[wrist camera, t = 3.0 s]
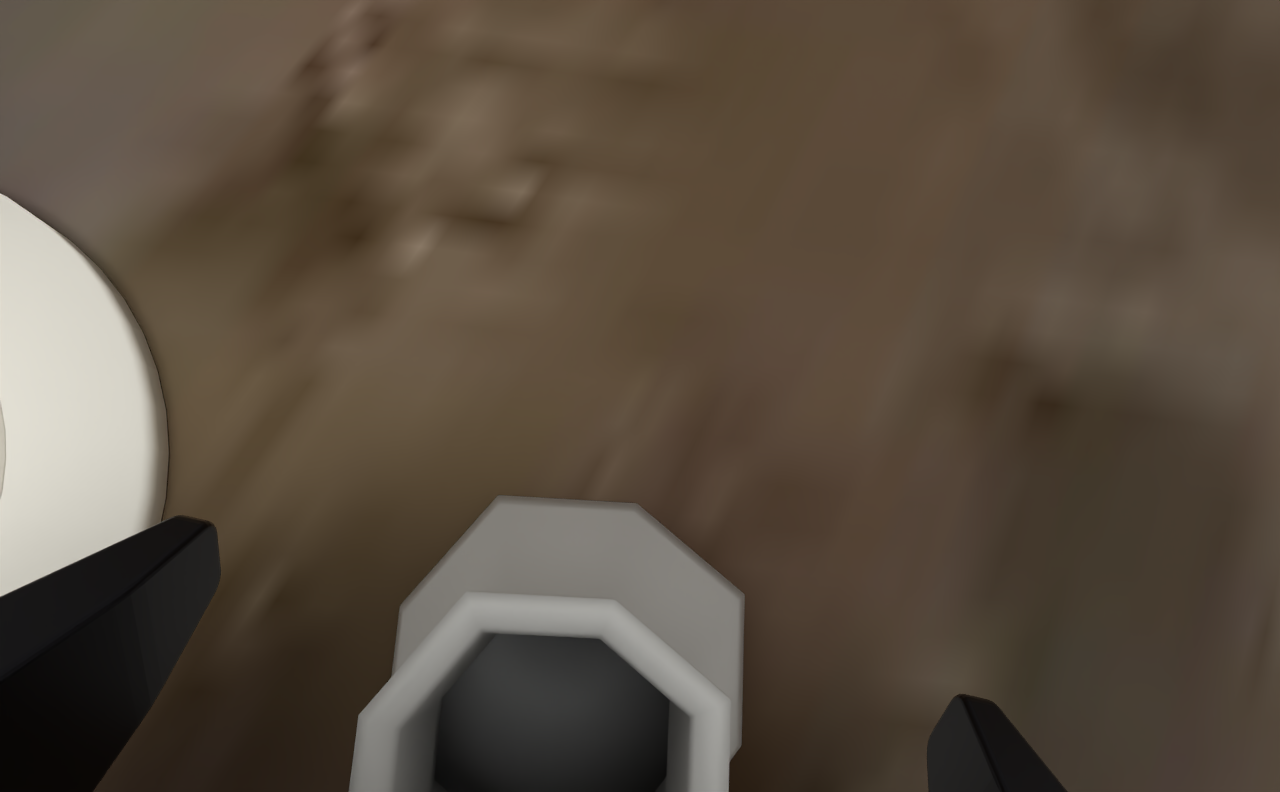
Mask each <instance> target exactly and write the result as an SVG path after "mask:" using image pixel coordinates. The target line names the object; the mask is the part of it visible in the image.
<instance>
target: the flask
mask: <svg viewBox="0 0 1280 792" xmlns="http://www.w3.org/2000/svg"><path fill="white" fill-rule="evenodd" d="M744 602H745V594H744V593H742V592H741V591H740V590H739V589H738V588H736V587H735V586H734V585H733V584H732V583H731V582H729V581H728V580H727V579H726V578H725V577H723V576H722V575H721V574H720V573H719V572H718V571H716V570H715V569H714V568H713V567H712V566H710V565H709V564H708V563H707V562H706V561H705V560H703V559H702V558H701V557H700V556H699V555H697V554H696V553H695V552H694V551H693V550H692V549H690V548H689V547H688V546H687V545H686V544H684V543H683V542H682V541H681V540H680V539H679V538H677V537H676V536H675V535H674V534H673V533H671V532H670V531H669V530H668V529H667V528H666V527H664V526H663V525H662V524H661V523H660V522H658V521H657V520H656V519H655V518H654V517H653V516H651V515H650V514H649V513H648V512H647V511H645V510H644V509H643V508H642V507H641V506H640V505H638V504H637V503H624V502H607V501H590V500H573V499H556V498H539V497H522V496H506V495H498V496H497V497H496V498H495V499H494V500H493V501H492V502H491V504H490V505H489V506H488V507H487V508H486V509H485V510H484V511H483V513H482V514H481V515H480V516H479V517H478V518H477V519H476V520H475V522H474V523H473V524H472V525H471V526H470V527H469V528H468V529H467V531H466V532H465V533H464V534H463V535H462V536H461V537H460V538H459V540H458V541H457V542H456V543H455V544H454V545H453V546H452V547H451V549H450V550H449V551H448V552H447V553H446V554H445V555H444V556H443V558H442V559H441V560H440V561H439V562H438V563H437V564H436V565H435V567H434V568H433V569H432V570H431V571H430V572H429V573H428V574H427V576H426V577H425V578H424V579H423V580H422V581H421V582H420V583H419V585H418V586H417V587H416V588H415V589H414V590H413V591H412V592H411V594H410V595H409V596H408V597H407V598H406V599H405V600H404V601H403V603H402V604H401V605H400V609H399V617H398V625H397V634H396V642H395V650H394V659H393V667H392V675H391V678H390V680H389V681H388V682H387V683H386V684H385V685H384V686H383V688H382V689H381V690H380V691H379V692H378V693H377V695H376V696H375V697H374V698H373V699H372V700H371V701H370V703H369V704H368V705H367V706H366V707H365V708H364V709H363V711H362V712H361V713H360V714H359V715H358V723H357V731H356V739H355V747H354V755H353V762H352V770H351V778H350V786H349V792H729V762H730V761H731V759H732V758H733V756H734V755H735V754H736V752H737V751H738V750H739V748H740V747H741V746H742V701H743V651H744Z"/></svg>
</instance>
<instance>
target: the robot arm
mask: <svg viewBox="0 0 1280 792" xmlns="http://www.w3.org/2000/svg"><path fill="white" fill-rule="evenodd" d="M220 575H221V567H220V557H219V547H218V537H217V530H216V527H215V526H214V524H213V523H211V522H209V521H206V520H202V519H198V518H193V517H189V516H184V515H178V516H174V517H171V518H169V519H167V520H165V521H162V522H160V523H158V524H156V525H154V526H152V527H150V528H147V529H145V530H143V531H141V532H139V533H137V534H134V535H132V536H130V537H128V538H126V539H124V540H121V541H119V542H117V543H115V544H113V545H111V546H108V547H106V548H104V549H102V550H100V551H98V552H96V553H93V554H91V555H89V556H87V557H85V558H83V559H80V560H78V561H76V562H74V563H72V564H70V565H67V566H65V567H63V568H61V569H59V570H57V571H54V572H52V573H50V574H48V575H46V576H44V577H41V578H39V579H37V580H35V581H33V582H31V583H29V584H26V585H24V586H22V587H20V588H18V589H16V590H13V591H11V592H9V593H7V594H5V595H3V596H0V792H93V791H94V789H95V788H96V786H97V785H98V783H99V782H100V781H101V779H102V778H103V776H104V775H105V773H106V772H107V770H108V769H109V768H110V766H111V765H112V763H113V762H114V760H115V759H116V758H117V756H118V755H119V753H120V752H121V750H122V749H123V748H124V746H125V745H126V743H127V742H128V740H129V739H130V738H131V736H132V735H133V733H134V732H135V730H136V729H137V728H138V726H139V725H140V723H141V722H142V720H143V719H144V717H145V716H146V714H147V713H148V711H149V710H150V708H151V707H152V705H153V703H154V701H155V700H156V698H157V696H158V695H159V693H160V691H161V690H162V688H163V686H164V684H165V682H166V681H167V679H168V677H169V675H170V673H171V672H172V670H173V668H174V666H175V664H176V662H177V661H178V659H179V657H180V655H181V653H182V652H183V650H184V648H185V646H186V644H187V643H188V641H189V639H190V637H191V635H192V634H193V632H194V630H195V628H196V626H197V624H198V623H199V621H200V619H201V617H202V615H203V614H204V612H205V610H206V608H207V606H208V605H209V603H210V601H211V599H212V597H213V596H214V594H215V592H216V590H217V587H218V584H219V581H220ZM927 768H928V788H929V792H1067V790H1066V789H1065V788H1064V787H1063V786H1062V784H1061V783H1060V782H1059V781H1058V779H1057V778H1056V777H1055V776H1054V774H1053V773H1052V772H1051V771H1050V770H1049V768H1048V767H1047V766H1046V765H1045V763H1044V762H1043V761H1042V760H1041V758H1040V757H1039V756H1038V755H1037V754H1036V752H1035V751H1034V750H1033V749H1032V747H1031V746H1030V745H1029V744H1028V742H1027V741H1026V740H1025V739H1024V738H1023V736H1022V735H1021V734H1020V733H1019V731H1018V730H1017V729H1016V728H1015V727H1014V725H1013V724H1012V723H1011V722H1010V720H1009V719H1008V718H1007V717H1006V715H1005V714H1004V713H1003V712H1002V711H1001V709H1000V708H999V707H998V706H997V705H996V704H995V703H994V702H992V701H990V700H988V699H983V698H979V697H975V696H970V695H966V694H959V695H957V696H955V697H954V698H953V699H952V700H951V702H950V704H949V705H948V707H947V708H946V710H945V712H944V713H943V715H942V717H941V718H940V720H939V721H938V723H937V725H936V726H935V728H934V730H933V731H932V733H931V735H930V738H929V741H928V746H927Z"/></svg>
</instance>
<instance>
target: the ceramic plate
mask: <svg viewBox="0 0 1280 792" xmlns="http://www.w3.org/2000/svg"><path fill="white" fill-rule="evenodd" d="M168 461H169V446H168V431H167V416H166V408H165V403H164V399H163V394H162V389H161V385H160V380H159V375H158V371H157V368H156V365H155V363H154V360H153V357H152V355H151V352H150V349H149V347H148V344H147V341H146V339H145V336H144V333H143V332H142V330H141V328H140V326H139V324H138V323H137V321H136V319H135V317H134V316H133V314H132V312H131V310H130V308H129V307H128V305H127V303H126V301H125V300H124V298H123V297H122V296H121V294H120V293H119V292H118V290H117V289H116V288H115V287H114V285H113V284H112V283H111V282H110V280H109V279H108V278H107V276H106V275H105V274H104V273H103V271H102V270H101V269H100V268H99V267H98V266H97V265H96V264H95V263H94V262H93V261H92V260H91V259H90V258H89V257H88V256H87V255H85V254H84V253H83V252H82V251H81V250H80V249H79V248H78V247H77V246H76V245H75V244H74V243H73V242H72V241H70V240H69V239H67V238H66V237H64V236H63V235H62V234H60V233H59V232H57V231H56V230H54V229H53V228H52V227H50V226H49V225H47V224H46V223H44V222H43V221H41V220H40V219H39V218H37V217H36V216H34V215H33V214H31V213H30V212H28V211H27V210H25V209H24V208H22V207H21V206H19V205H18V204H17V203H15V202H14V201H12V200H11V199H9V198H8V197H6V196H4V195H2V194H0V596H3V595H5V594H7V593H9V592H11V591H13V590H16V589H18V588H20V587H22V586H24V585H26V584H29V583H31V582H33V581H35V580H37V579H39V578H41V577H44V576H46V575H48V574H50V573H52V572H54V571H57V570H59V569H61V568H63V567H65V566H67V565H70V564H72V563H74V562H76V561H78V560H80V559H83V558H85V557H87V556H89V555H91V554H93V553H96V552H98V551H100V550H102V549H104V548H106V547H108V546H111V545H113V544H115V543H117V542H119V541H121V540H124V539H126V538H128V537H130V536H132V535H134V534H137V533H139V532H141V531H143V530H145V529H147V528H150V527H152V526H154V525H156V524H158V523H160V522H161V519H162V514H163V509H164V504H165V500H166V489H167V475H168Z"/></svg>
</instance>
